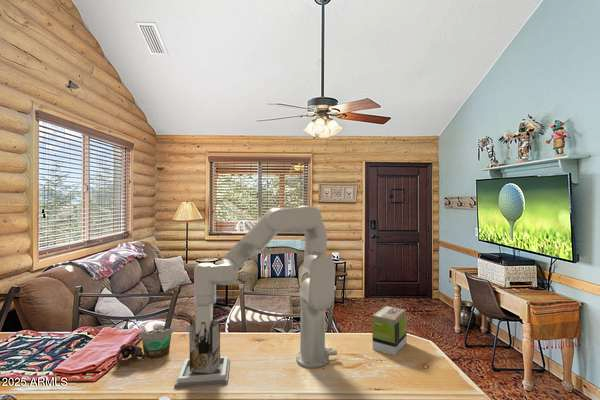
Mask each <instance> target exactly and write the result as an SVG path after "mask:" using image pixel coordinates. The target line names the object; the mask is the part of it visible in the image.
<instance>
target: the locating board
mask: <svg viewBox="0 0 600 400" xmlns="http://www.w3.org/2000/svg"><path fill="white" fill-rule="evenodd" d="M230 366H231V358H228V355H223V356H221V355H220V367H219V368H218V369H217V370H216V371H215V372H214V373H213V374H209V373H199V372H190V358H185V359H184V361H183V362H182V364H181V367H180V370H179V373H178V375H177V377H176V380H175V382H174V387H173V388H175V389H176V388H186V387H200V386H212V385H213V386H215V385H224V384H226V383H227V384H228V380H229V374H230V373H229V372H230ZM214 384H215V385H214Z"/></svg>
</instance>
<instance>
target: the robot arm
mask: <svg viewBox="0 0 600 400" xmlns="http://www.w3.org/2000/svg"><path fill="white" fill-rule="evenodd" d="M322 218H323V217H322V213H321V211H320V210H319V209H318V208H317V207H315V206H312V205H299V206H297V207H287V208H286V207H285V208H283V207H282V208H279V207H272V208H269V210H267V211H266V212H265V213H264V214H263V215H262V216H261V218H260V219H258V221H257V222H256V223H255V224H254V225H253V226H252V227H251V228H250V229H249V231H248V232H247V233H246V234H245V235H244V236H243V237H242V238H241V239H240V240H239V241H238V242H237V243H236V244H234V246H232V248H231V249H230V250H229V251H228V252H227V253H226V254H225V255H224V256H223V257H222V258H221V260H219V262H218V264H217V265H216V264H215V263H213V262H200V263H197V264H196V265H195V266H194V269H193V271H194V272H193V273H194V275H193V279H194V280H193V304H194V305H196V309H195V321H196V327H195V334H196V335H197V334H199V350H198V353H199V354H207V353H208V334H209V333H210V327H211V324H212V321H214V320H213V318H214V304H216V303H217V285H220V286H222V285H223V286H228V285H233V284H234V283H236V282H237V280H238V278H239V269H240V268H241V267H242V266H243V265H244V264H245V263H246V262H247V261H248V260H249V259H250V258H251V257H253V256H255V255H257V254H259V253H261V252H262V251H264V249H265V248H266V247H267V246H268V245H269V244H270V243H271V241H272V240H273V239H274V238H275V237H276V236H277V235H278V234H279V233H292V232H300V231H303V233H304V234H303V235H304V254H303V268H304V270H305V272H306V273H307V274H309V277H307V278H304V280H303V281H302V282H301V283H300V286H299V291H298V293H299V303H300V304H299V306H300V331H299V332H300V338H299V340H300V342H299V344H300V347H299V351H300V352H298V353H297V354H296V358H295V359H296V363H297V364H298V365H300V366H301V367H305V368H307V369H308V368H309V369H311V368H312V369H319V368H322V367H325V366H326V365H328V364H329V361H330V356H338V350H337V349H333V348H332V347H328V348H327V347H326V310H328V309H329V308H330V307H331V305H332V304H333V301H334V295H335V284H336V283H335V282H336V267H335V262H334V260H333V258H332V257H330V255H328V253H327V250H328V249H327V248H328V247H327V246H328V243H327V242H328V237H327V236H328V235H327V229H326V227H325V224H324V222H323V220H322ZM205 324H206V326H205ZM205 327H206V330H207V332H205ZM199 331H200V333H199ZM204 335H206V337H205V336H204Z"/></svg>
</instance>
